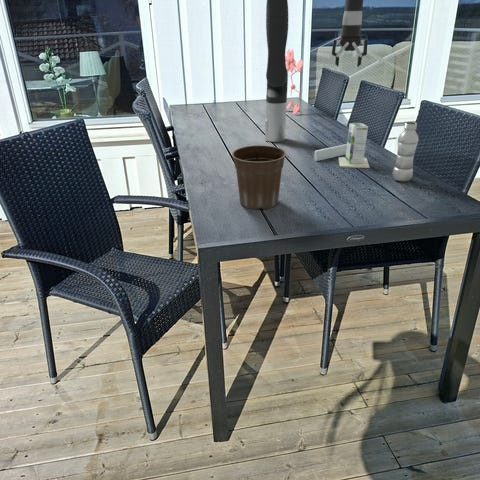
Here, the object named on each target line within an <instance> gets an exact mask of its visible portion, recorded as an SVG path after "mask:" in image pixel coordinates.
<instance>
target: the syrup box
mask: <svg viewBox="0 0 480 480" xmlns="http://www.w3.org/2000/svg"><path fill="white" fill-rule="evenodd" d="M368 129H369V126H368V125H366V124H364V123H361V122H353V123H349V124H348V135H347V142H346V144H347V148H346V154H345V156H344V157H345V160H346V161H347V162H348V163H349V164H358V163H363V160H364V158H365V153H366V145H367V138H368V131H369V130H368Z"/></svg>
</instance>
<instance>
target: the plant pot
mask: <svg viewBox="0 0 480 480" xmlns="http://www.w3.org/2000/svg"><path fill="white" fill-rule="evenodd" d="M231 157H232V158H233V163H234V168H235V170H236V171H235V172H236V177H237V179H236V181H237V187H238V194H239V195H238V197H239V203H240V205H241V206H243V207H245V208H247V209H249V210H250V209H251V210H260V209H263V210H268V209H271V208H273V207H276V205H278V203H279V195H280V188H281V177H282V173H283V172H282V170H283V168H284V164H285V158H286V157H287V152H286V151H285V150H284V149H283V148H280V147H278V146H277V147H276V146H272V145H271V146H270V145H262V144H261V145H259V144H257V145H248V146H243V147H239V148H236V149H235V150H233V151H232V153H231Z"/></svg>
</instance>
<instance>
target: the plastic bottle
mask: <svg viewBox="0 0 480 480" xmlns="http://www.w3.org/2000/svg"><path fill="white" fill-rule="evenodd" d="M417 126H418V123H417V122H414V121H407V122H405V123H404V126H403V131H402V132H401V133H400V134H399V135H398V137H397V153H396V160H395V164H394V167H393V169H392V177H393V180H395V181H397V182H410V180H411V179H412V178H413V176H414V173H413V172H414V170H413V169H414V168H413V167H414V159H415V158H414V157H415V154H416V150H417V146H418V143H419V135H418V133H417V132H416V130H417V129H418V128H417Z"/></svg>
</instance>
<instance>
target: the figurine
mask: <svg viewBox="0 0 480 480" xmlns="http://www.w3.org/2000/svg"><path fill="white" fill-rule="evenodd" d="M294 57H295V56H294V49H293V48H292V49H291V50H290V49H289V48H287V51H286V55H285V59H286V68H287V71H288V72H290V73H291V74H290V78H291V79H290V80H291V85H290V95H292V90H294V91H295V92H297V93H298V98H297V102H296V104H295V105H294V103H293V100H290V102H289V103H288V105H287V106H286V111H287V110H289V108H290V107H291V106H292V108H290V110H291V109H292V112H293V113H292V114H293V116H295V115H296V114H297V113H298V112H299V114H300V115H302V111H301V109H300V104H299V99H300V96H301V93H300V91H298V90H297V89H296V85H295V84H293V75H295V74H296V73H298V72H299V73H301V74H303V72H304V71H303V65H304V61H303V59H302V58H301V59H299V60H298V62H297V63H296V60H295V58H294ZM293 70H294V72H293ZM286 118H288V116H287V115H286Z"/></svg>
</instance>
